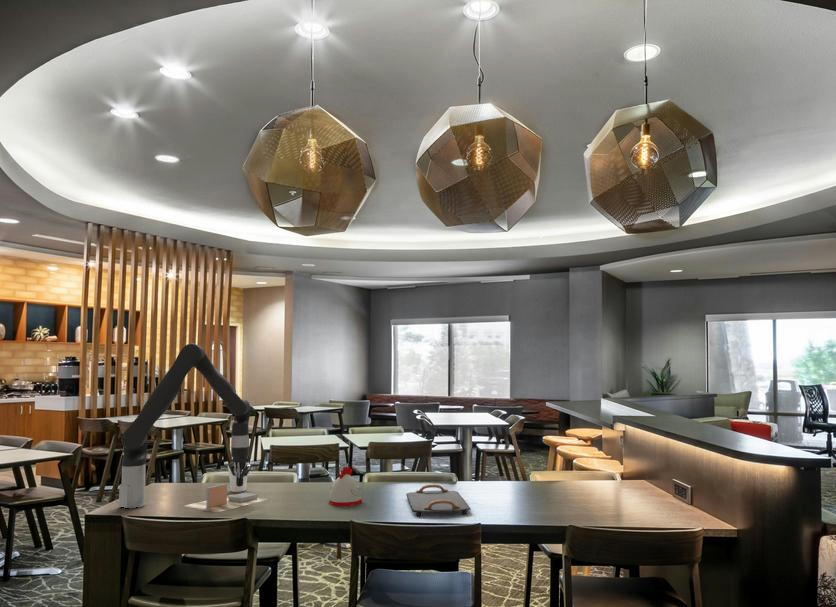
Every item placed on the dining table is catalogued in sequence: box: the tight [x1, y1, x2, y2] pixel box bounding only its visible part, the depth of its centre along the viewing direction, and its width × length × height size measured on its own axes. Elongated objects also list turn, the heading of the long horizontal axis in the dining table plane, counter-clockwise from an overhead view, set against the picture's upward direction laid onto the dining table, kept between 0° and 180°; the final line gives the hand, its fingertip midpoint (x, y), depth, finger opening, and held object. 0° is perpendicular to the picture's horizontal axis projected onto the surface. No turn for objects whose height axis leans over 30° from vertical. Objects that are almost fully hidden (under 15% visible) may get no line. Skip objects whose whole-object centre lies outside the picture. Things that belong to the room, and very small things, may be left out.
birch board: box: [184, 493, 269, 513], centre depth 271 cm, size 27×22×1 cm
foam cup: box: [227, 462, 250, 493], centre depth 297 cm, size 10×9×13 cm
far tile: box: [227, 492, 258, 503], centre depth 275 cm, size 9×2×8 cm
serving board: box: [406, 483, 471, 518], centre depth 263 cm, size 39×23×6 cm, turn 6°
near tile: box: [205, 483, 228, 508], centre depth 265 cm, size 9×2×8 cm, turn 146°
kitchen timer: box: [328, 466, 363, 507], centre depth 273 cm, size 14×14×15 cm
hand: (239, 486), depth 277 cm, fingers closed
